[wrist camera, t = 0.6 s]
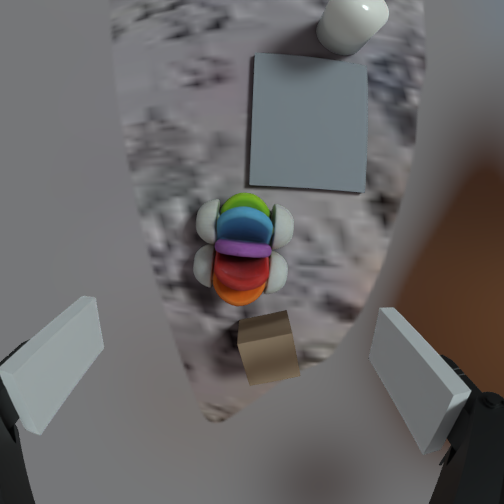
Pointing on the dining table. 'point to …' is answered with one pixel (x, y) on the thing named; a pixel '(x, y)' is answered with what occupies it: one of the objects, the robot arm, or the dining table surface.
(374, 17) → the white glossy rounded part
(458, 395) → the robot arm
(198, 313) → the dining table surface
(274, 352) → the walnut block
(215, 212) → the rainbow wheeled toy
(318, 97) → the felt mat
